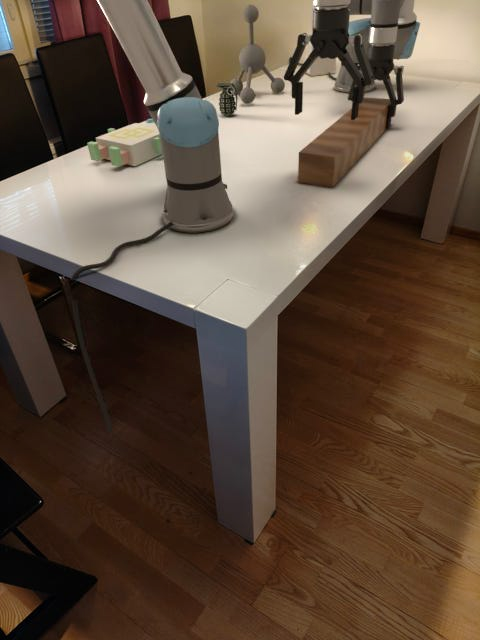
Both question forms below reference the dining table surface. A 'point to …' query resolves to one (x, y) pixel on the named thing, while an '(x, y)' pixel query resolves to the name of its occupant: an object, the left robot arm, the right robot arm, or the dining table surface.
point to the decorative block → (128, 144)
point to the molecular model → (253, 62)
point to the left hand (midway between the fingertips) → (325, 115)
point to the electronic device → (319, 60)
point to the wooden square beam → (342, 144)
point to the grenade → (227, 99)
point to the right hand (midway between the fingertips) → (372, 126)
